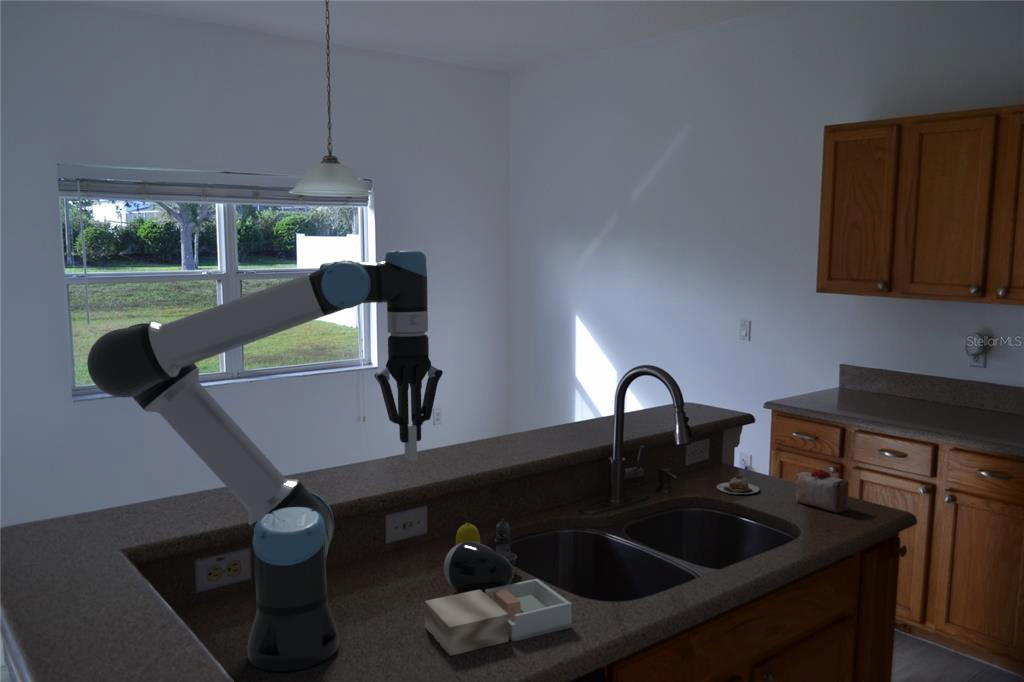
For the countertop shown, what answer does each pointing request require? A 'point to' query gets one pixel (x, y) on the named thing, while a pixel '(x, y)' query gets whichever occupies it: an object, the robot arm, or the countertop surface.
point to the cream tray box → (466, 622)
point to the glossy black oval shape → (476, 568)
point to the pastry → (738, 486)
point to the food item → (822, 491)
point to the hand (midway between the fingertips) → (411, 458)
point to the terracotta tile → (507, 603)
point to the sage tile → (529, 603)
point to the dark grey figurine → (504, 542)
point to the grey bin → (538, 620)
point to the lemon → (467, 534)
